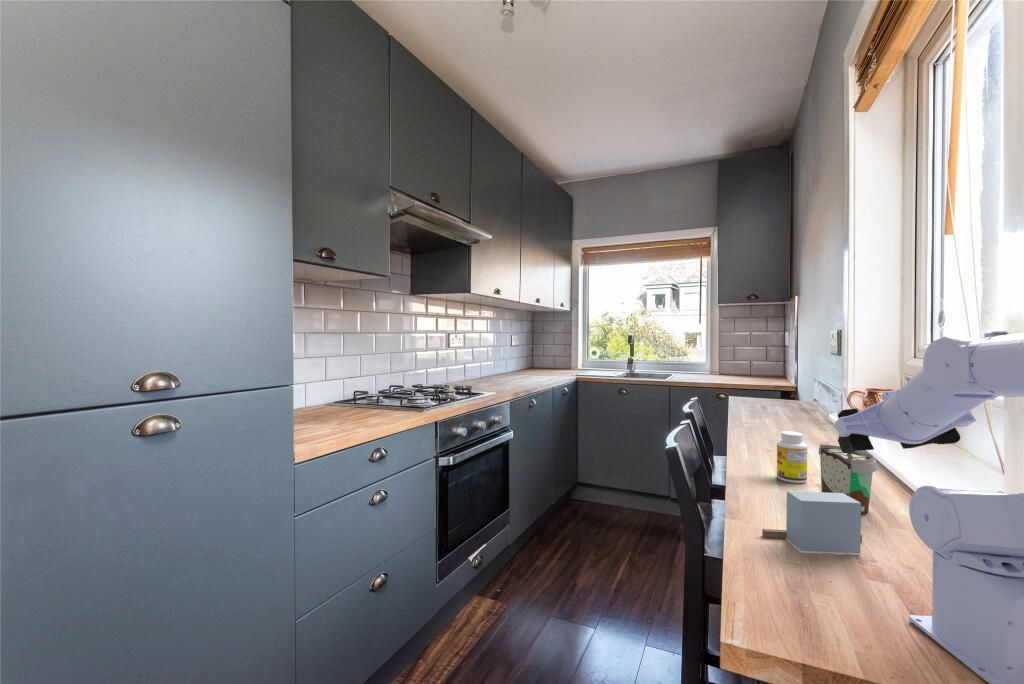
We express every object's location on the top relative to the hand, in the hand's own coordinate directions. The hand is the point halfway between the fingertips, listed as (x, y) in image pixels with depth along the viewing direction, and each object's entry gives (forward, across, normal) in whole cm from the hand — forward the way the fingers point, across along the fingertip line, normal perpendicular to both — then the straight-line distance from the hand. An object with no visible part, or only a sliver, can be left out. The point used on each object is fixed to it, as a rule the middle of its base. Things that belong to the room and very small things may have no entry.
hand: (872, 444), depth 63 cm
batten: (+11, +8, +10) cm, 17 cm away
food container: (+25, -6, +4) cm, 26 cm away
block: (+9, +8, +12) cm, 17 cm away
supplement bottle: (+37, -2, -5) cm, 37 cm away
